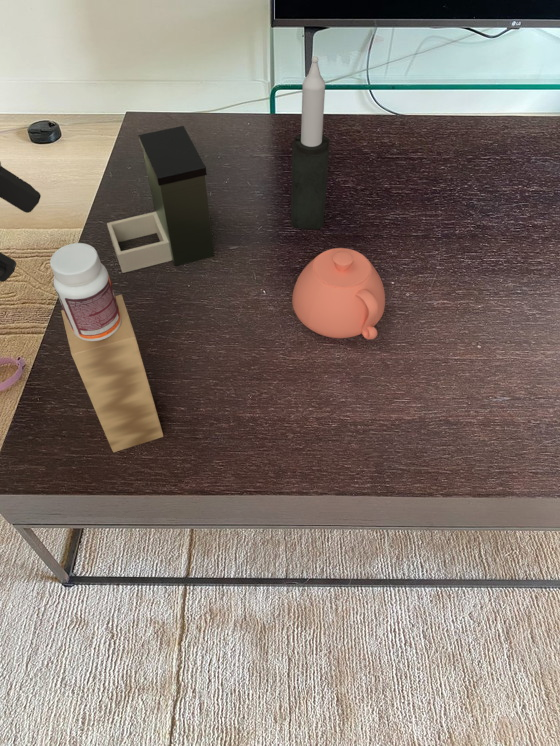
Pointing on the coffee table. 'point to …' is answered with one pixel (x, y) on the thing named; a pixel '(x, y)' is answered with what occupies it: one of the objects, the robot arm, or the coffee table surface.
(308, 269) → the sugar bowl
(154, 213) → the dock
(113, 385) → the stand
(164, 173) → the dispenser
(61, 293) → the pill bottle
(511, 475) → the coffee table surface
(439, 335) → the coffee table surface
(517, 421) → the coffee table surface
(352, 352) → the coffee table surface
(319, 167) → the candle
